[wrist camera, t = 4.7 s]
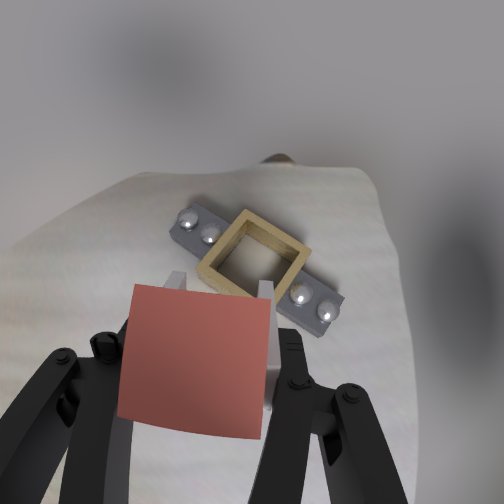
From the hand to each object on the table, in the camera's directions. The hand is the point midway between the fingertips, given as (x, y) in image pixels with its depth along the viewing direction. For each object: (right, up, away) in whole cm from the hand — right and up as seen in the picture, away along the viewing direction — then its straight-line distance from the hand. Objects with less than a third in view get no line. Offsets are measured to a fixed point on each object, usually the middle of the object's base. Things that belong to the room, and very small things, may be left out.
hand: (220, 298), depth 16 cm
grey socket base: (+2, 0, +18) cm, 18 cm away
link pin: (0, -5, +1) cm, 5 cm away
